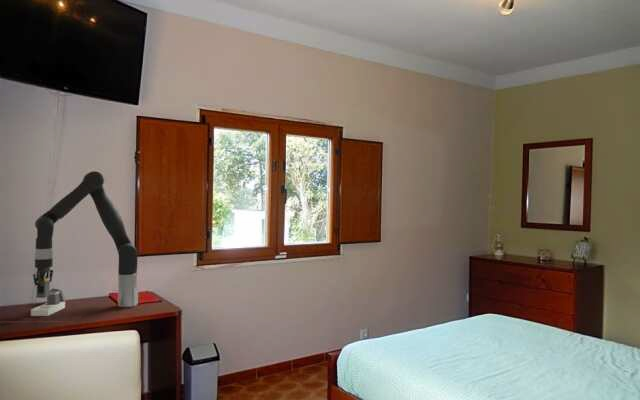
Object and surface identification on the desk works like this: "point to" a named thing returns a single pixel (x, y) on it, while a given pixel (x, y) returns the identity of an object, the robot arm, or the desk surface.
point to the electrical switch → (61, 296)
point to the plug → (44, 289)
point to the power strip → (47, 309)
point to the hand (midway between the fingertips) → (43, 292)
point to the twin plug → (53, 298)
